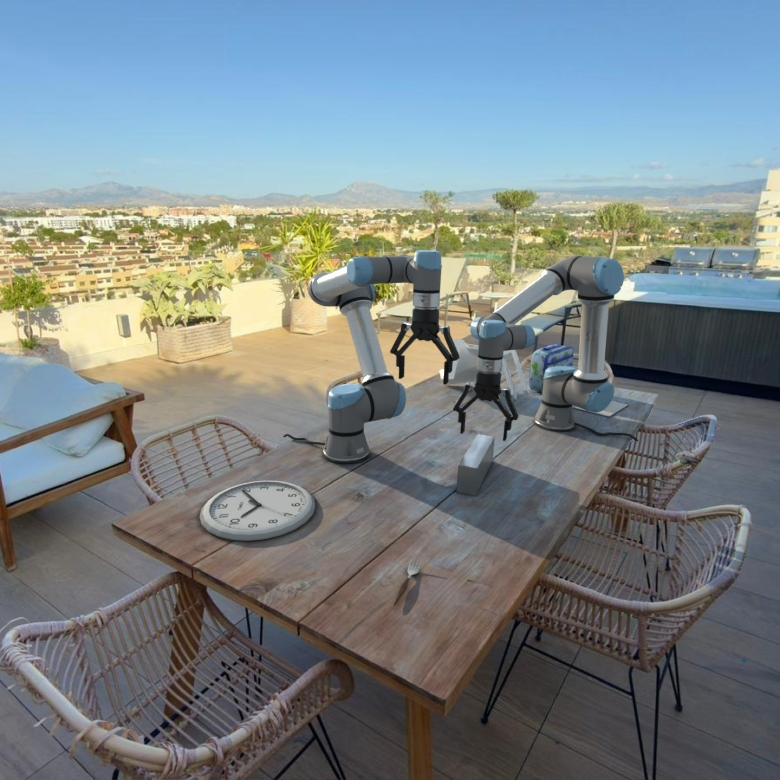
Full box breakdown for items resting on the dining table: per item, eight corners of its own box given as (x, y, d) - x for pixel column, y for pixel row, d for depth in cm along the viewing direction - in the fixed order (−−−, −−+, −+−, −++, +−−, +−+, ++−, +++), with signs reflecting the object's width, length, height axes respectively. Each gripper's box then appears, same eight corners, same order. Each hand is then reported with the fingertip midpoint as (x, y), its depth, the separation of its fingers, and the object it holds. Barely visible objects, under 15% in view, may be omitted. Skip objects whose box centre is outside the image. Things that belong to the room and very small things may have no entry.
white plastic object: (461, 429, 252) (437, 405, 227) (444, 352, 274) (420, 323, 250) (535, 404, 240) (518, 377, 215) (510, 326, 262) (492, 293, 237)
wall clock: (312, 532, 127) (184, 536, 124) (312, 538, 127) (185, 542, 125) (317, 476, 155) (214, 478, 153) (318, 481, 156) (214, 483, 153)
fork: (388, 605, 105) (388, 597, 104) (412, 560, 119) (412, 553, 119) (400, 609, 104) (400, 600, 104) (423, 563, 119) (423, 555, 118)
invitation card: (608, 416, 214) (573, 407, 224) (608, 416, 214) (573, 408, 224) (628, 404, 229) (594, 396, 238) (628, 405, 229) (594, 397, 238)
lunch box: (545, 397, 238) (550, 352, 231) (524, 391, 245) (529, 348, 239) (572, 386, 255) (578, 344, 249) (552, 381, 262) (557, 340, 256)
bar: (476, 458, 174) (477, 434, 171) (492, 461, 172) (494, 436, 169) (456, 492, 151) (458, 464, 149) (475, 495, 149) (477, 468, 147)
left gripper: (379, 306, 147) (378, 378, 153) (466, 312, 138) (461, 389, 145) (389, 302, 154) (388, 372, 160) (473, 309, 145) (468, 382, 151)
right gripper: (446, 369, 161) (442, 433, 167) (528, 379, 152) (521, 446, 158) (452, 363, 168) (448, 425, 174) (532, 373, 159) (524, 438, 165)
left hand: (423, 380), depth 152 cm, fingers open, 13 cm apart
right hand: (483, 435), depth 166 cm, fingers open, 13 cm apart
